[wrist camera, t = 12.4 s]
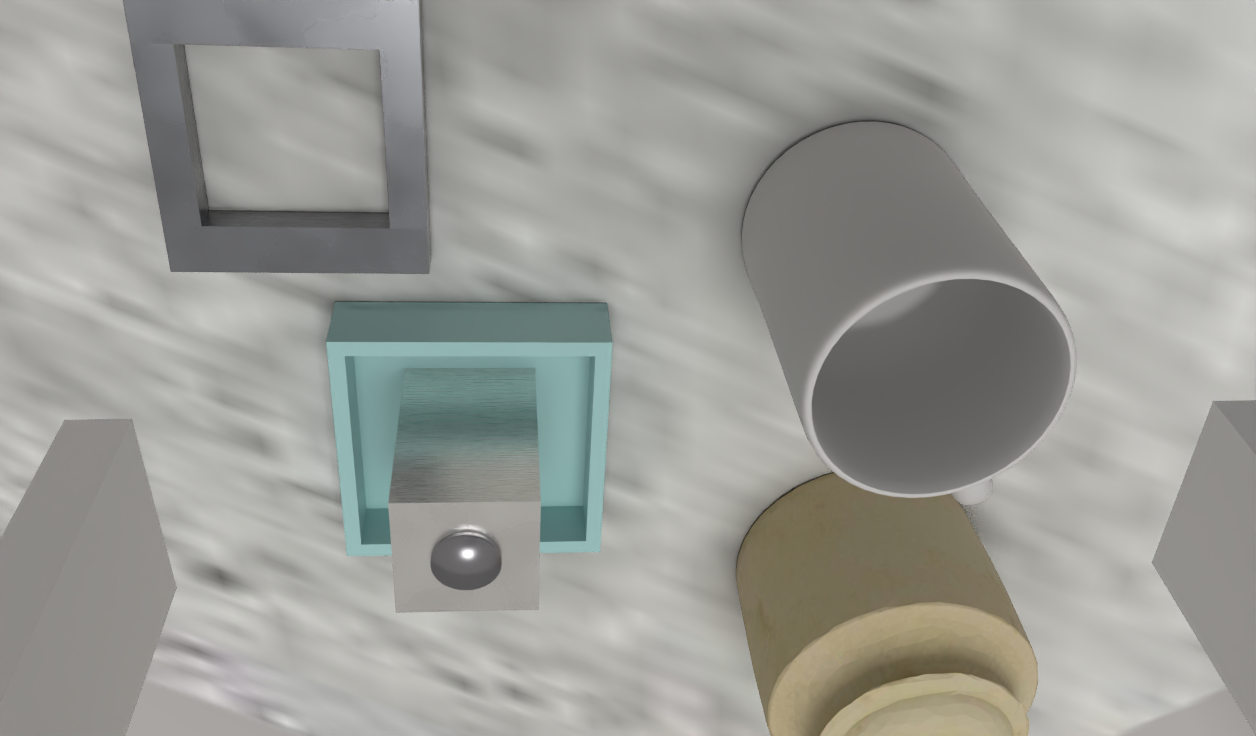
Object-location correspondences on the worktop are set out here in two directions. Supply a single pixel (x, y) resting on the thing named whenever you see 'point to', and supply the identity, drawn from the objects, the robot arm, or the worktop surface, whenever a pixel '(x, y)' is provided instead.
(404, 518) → the steel cube with knob
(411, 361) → the parts tray
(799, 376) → the mug
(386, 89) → the grey slotted plate
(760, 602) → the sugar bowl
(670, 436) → the worktop surface
